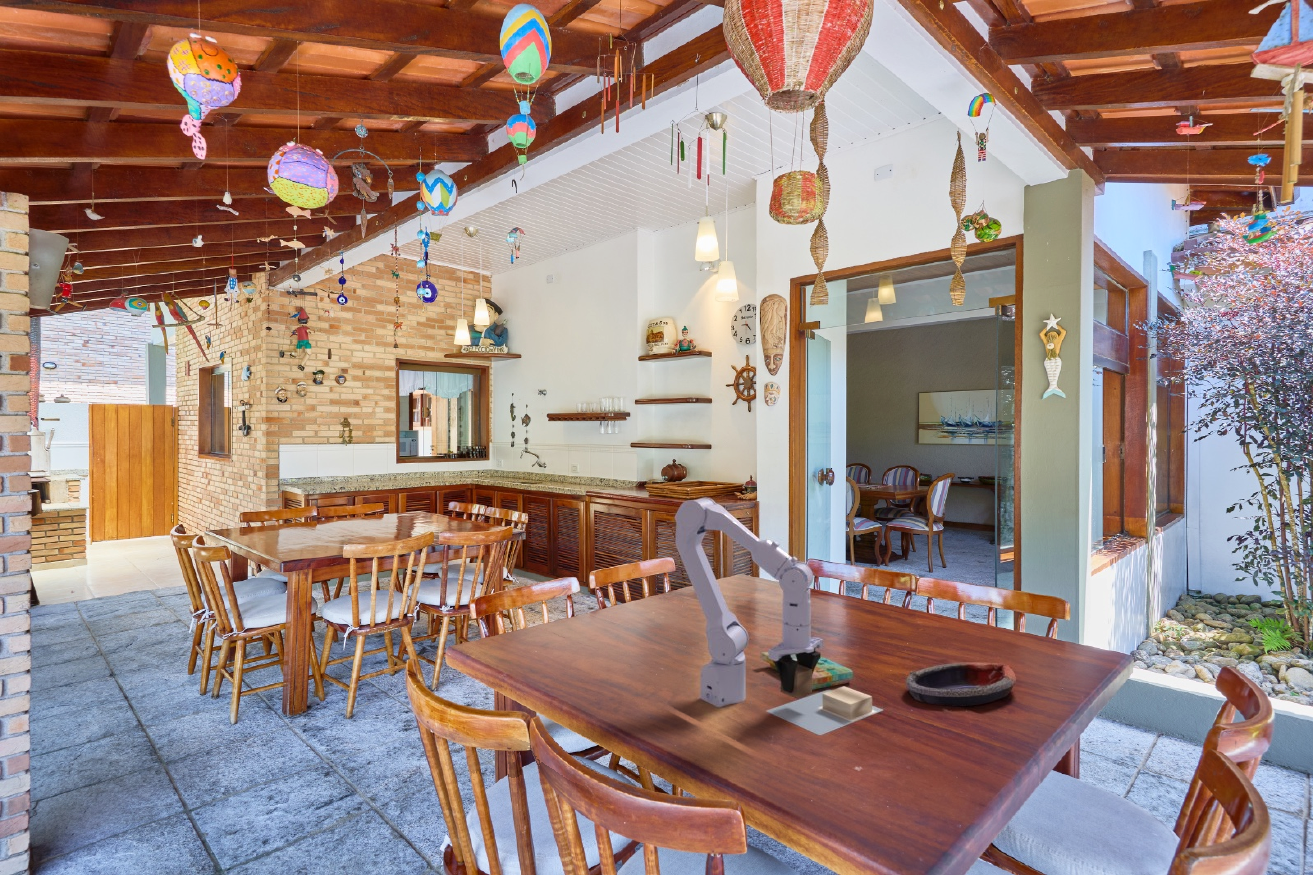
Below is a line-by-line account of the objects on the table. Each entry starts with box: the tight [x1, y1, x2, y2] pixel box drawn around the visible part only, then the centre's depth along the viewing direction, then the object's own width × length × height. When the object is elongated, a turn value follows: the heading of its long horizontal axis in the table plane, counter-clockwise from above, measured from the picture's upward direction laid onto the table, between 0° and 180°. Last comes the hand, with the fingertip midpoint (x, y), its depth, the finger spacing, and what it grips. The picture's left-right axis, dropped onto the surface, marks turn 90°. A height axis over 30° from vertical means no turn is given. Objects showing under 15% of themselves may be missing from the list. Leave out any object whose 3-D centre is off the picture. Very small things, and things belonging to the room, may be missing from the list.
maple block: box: [822, 686, 873, 720], centre depth 135 cm, size 7×7×3 cm
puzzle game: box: [760, 651, 854, 691], centre depth 156 cm, size 12×5×20 cm
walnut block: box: [780, 664, 813, 700], centre depth 135 cm, size 4×4×5 cm
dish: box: [905, 662, 1017, 708], centre depth 146 cm, size 16×31×5 cm, turn 114°
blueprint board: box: [765, 689, 884, 736], centre depth 134 cm, size 20×14×1 cm
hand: (796, 688), depth 135 cm, fingers closed on walnut block, 4 cm apart
